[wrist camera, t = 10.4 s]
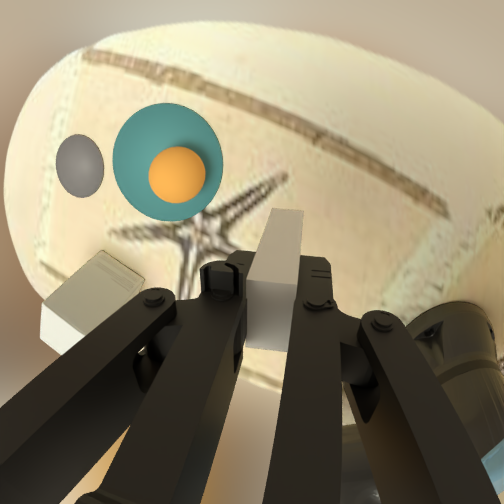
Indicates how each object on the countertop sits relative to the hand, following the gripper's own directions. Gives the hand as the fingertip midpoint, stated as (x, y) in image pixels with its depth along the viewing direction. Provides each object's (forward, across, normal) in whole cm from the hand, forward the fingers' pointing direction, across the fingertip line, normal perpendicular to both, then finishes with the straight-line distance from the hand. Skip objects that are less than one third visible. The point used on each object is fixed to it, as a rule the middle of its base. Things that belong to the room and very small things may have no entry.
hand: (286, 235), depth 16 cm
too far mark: (+16, +26, 0) cm, 31 cm away
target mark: (+16, +14, 0) cm, 22 cm away
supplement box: (+17, +23, +16) cm, 33 cm away
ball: (+14, +11, 0) cm, 18 cm away
